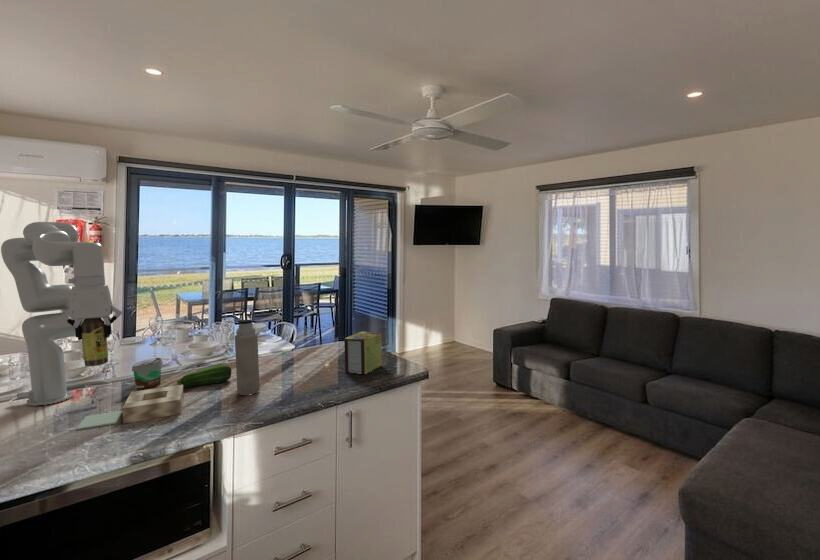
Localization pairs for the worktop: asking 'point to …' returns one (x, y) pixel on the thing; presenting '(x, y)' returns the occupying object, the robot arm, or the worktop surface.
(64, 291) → the robot arm
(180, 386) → the socket block
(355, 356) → the protein box
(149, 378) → the food container
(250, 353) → the thermos bottle
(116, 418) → the pad
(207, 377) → the vegetable
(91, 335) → the sauce bottle
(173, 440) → the worktop surface
